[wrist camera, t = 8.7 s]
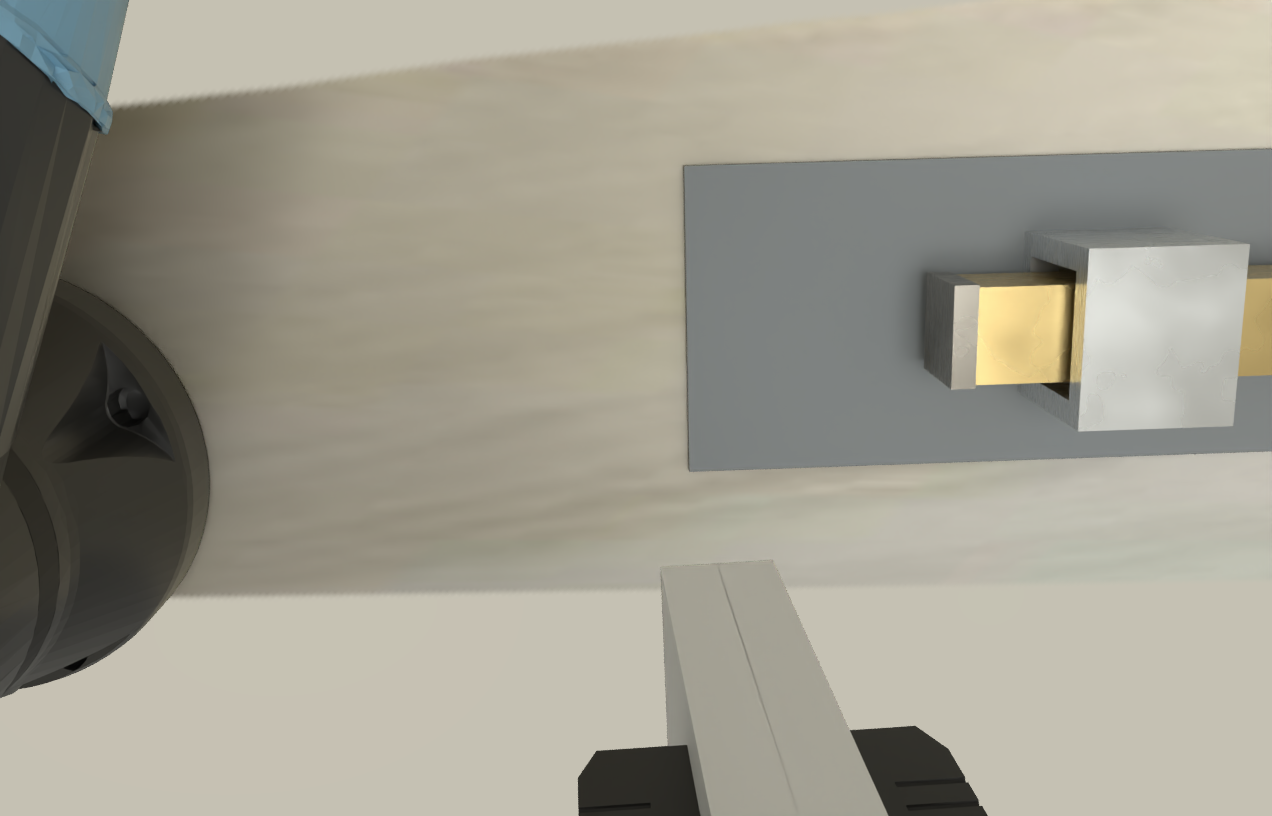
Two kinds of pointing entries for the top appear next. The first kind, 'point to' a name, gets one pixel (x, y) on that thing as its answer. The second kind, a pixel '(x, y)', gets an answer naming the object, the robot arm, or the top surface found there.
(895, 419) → the mat
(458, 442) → the top surface
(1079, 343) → the guide sleeve
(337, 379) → the top surface
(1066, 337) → the rod
